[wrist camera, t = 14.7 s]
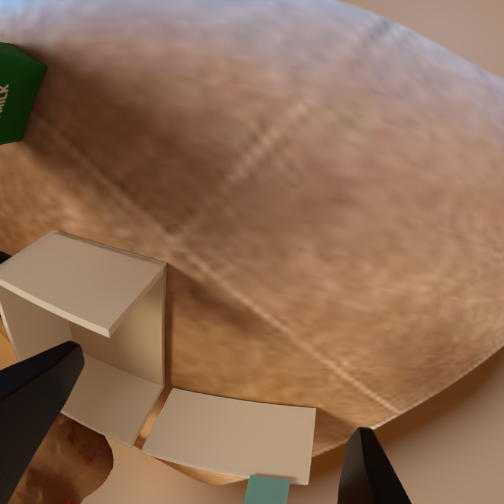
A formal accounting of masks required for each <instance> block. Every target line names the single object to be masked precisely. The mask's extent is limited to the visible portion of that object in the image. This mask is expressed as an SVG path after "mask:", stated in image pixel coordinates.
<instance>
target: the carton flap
mask: <svg viewBox="0 0 504 504" xmlns="http://www.w3.org/2000/svg"><path fill="white" fill-rule="evenodd" d="M315 415H316V408H307V407H295V406H285V405H275V404H266V403H258V402H250V401H243V400H236V399H230V398H223V397H217V396H212V395H206V394H201V393H195V392H190V391H185V390H180V389H176V388H173V389H172V390H171V392H170V394H169V396H168V398H167V400H166V402H165V404H164V406H163V408H162V410H161V412H160V414H159V416H158V418H157V420H156V422H155V424H154V426H153V428H152V430H151V432H150V434H149V436H148V438H147V440H146V441H145V443H144V445H143V447H142V449H141V451H142V453H143V454H146V455H149V456H153V457H156V458H159V459H163V460H166V461H170V462H173V463H177V464H181V465H185V466H189V467H193V468H197V469H201V470H206V471H210V472H215V473H220V474H225V475H231V476H236V477H242V478H248V479H249V482H248V486H247V490H246V494H245V497H244V501H243V504H286V502H287V496H288V490H289V484H301V485H308V482H309V474H310V465H311V457H312V447H313V437H314V427H315Z"/></svg>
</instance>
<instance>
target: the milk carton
mask: <svg viewBox="0 0 504 504" xmlns="http://www.w3.org/2000/svg"><path fill="white" fill-rule="evenodd" d="M46 68H47V66H45V65H43V64H42V63H40V62H39V61H37V60H35V59H34V58H32V57H31V56H29V55H27V54H26V53H24V52H23V51H21V50H19V49H18V48H16V47H14V46H13V45H11V44H9V43H3V42H0V145H1V144H7V143H12V142H18V141H21V139H22V136H23V132H24V129H25V126H26V123H27V119H28V116H29V113H30V110H31V107H32V105H33V102H34V99H35V96H36V94H37V91H38V88H39V86H40V83H41V81H42V78H43V76H44V73H45V71H46Z"/></svg>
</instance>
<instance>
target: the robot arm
mask: <svg viewBox="0 0 504 504" xmlns="http://www.w3.org/2000/svg"><path fill="white" fill-rule="evenodd" d="M9 258H11V256H9V255H6V254H4V253H2V252H0V264H2V263H3V262H5V261H6V260H8V259H9ZM0 317H1V314H0ZM84 365H85V359H84V355H83V351H82V347H81V345H80V344H78V343H76V342H74V341H72V340H69V341H66V342H64V343H62V344H59V345H57V346H55V347H53V348H50V349H48V350H46V351H43V352H41V353H39V354H36V355H34V356H32V357H30V358H27V359H25V360H23V361H20V362H18V363H16V364H13V365H11V366H9V367H7V368H4V369H2V370H0V504H8V502H9V500H10V498H11V497H12V495H13V493H14V491H15V489H16V487H17V485H18V483H19V481H20V479H21V478H22V476H23V474H24V472H25V470H26V469H27V467H28V465H29V463H30V462H31V460H32V458H33V456H34V455H35V453H36V451H37V450H38V448H39V446H40V444H41V443H42V441H43V439H44V438H45V436H46V434H47V433H48V431H49V429H50V428H51V426H52V425H53V423H54V421H55V420H56V418H57V416H58V415H59V413H60V412H61V410H62V408H63V407H64V405H65V404H66V402H67V400H68V398H69V396H70V394H71V392H72V390H73V388H74V386H75V384H76V382H77V380H78V378H79V376H80V374H81V372H82V370H83V368H84ZM337 504H412V503H411V501H410V500H409V498H408V496H407V494H406V492H405V490H404V488H403V486H402V484H401V483H400V480H399V479H398V477H397V475H396V473H395V471H394V469H393V467H392V465H391V464H390V461H389V460H388V458H387V456H386V454H385V452H384V451H383V448H382V447H381V445H380V443H379V441H378V439H377V437H376V435H375V434H374V432H373V430H372V429H371V428H366V427H359V428H357V430H356V431H355V432H354V433H353V435H352V436H351V437H350V438H349V440H348V442H347V445H346V450H345V456H344V462H343V467H342V472H341V478H340V483H339V490H338V503H337Z"/></svg>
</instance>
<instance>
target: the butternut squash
mask: <svg viewBox="0 0 504 504" xmlns="http://www.w3.org/2000/svg"><path fill="white" fill-rule="evenodd" d="M112 468H113V454H112V449H111V448H110V446H109V444H108V442H107V440H106V438H105V436H104V435H102V434H100V433H98V432H96V431H94V430H92V429H90V428H88V427H86V426H84V425H83V424H81V423H79V422H77V421H75V420H73V419H71V418H70V417H68V416H66V415H64V414H63V413H61V412H60V413H59V415H58V416H57V418H56V420H55V421H54V423H53V425H52V426H51V428H50V429H49V431H48V433H47V434H46V436H45V438H44V439H43V441H42V443H41V444H40V446H39V448H38V450H37V451H36V453H35V455H34V456H33V458H32V460H31V462H30V463H29V465H28V467H27V469H26V470H25V472H24V474H23V476H22V478H21V479H20V481H19V483H18V485H17V487H16V489H15V491H14V493H13V495H12V497H11V498H10V500H9V502H8V504H80V503H81V502H82V500H83V499H84V498H86V497H87V496H88V495H90V494H91V493H93V492H94V491H95V490H97V489H98V488H99V487H100V486H101V485H102V484H103V483H104V482H105V480H106V479H107V477H108V476H109V474H110V472H111V470H112Z"/></svg>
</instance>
